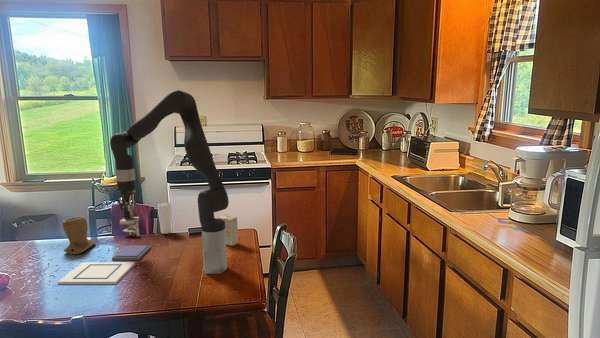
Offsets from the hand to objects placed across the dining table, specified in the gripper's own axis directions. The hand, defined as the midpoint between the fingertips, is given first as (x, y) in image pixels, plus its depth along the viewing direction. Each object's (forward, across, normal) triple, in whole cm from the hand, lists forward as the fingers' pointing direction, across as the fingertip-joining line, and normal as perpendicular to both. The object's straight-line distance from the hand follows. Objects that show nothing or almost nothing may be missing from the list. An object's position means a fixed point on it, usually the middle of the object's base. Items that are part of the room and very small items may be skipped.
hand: (129, 217), depth 183 cm
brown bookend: (+17, +5, +27) cm, 33 cm away
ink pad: (+17, 0, 0) cm, 17 cm away
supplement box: (+17, +12, -41) cm, 46 cm away
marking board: (+17, -21, +5) cm, 27 cm away
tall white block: (+17, +28, -6) cm, 34 cm away
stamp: (+3, 0, 0) cm, 3 cm away
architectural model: (+18, +24, +9) cm, 31 cm away
